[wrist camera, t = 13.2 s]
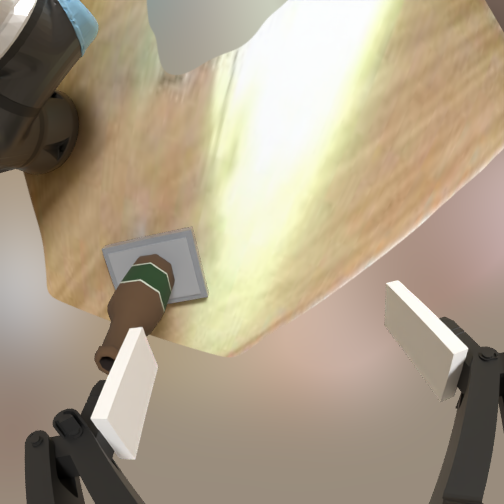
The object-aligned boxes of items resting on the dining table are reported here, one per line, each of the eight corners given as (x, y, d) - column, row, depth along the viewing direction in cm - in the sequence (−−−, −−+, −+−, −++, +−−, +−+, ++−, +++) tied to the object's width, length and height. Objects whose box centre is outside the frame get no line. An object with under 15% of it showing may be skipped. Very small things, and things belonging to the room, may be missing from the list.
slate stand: (105, 245, 52) (101, 249, 49) (192, 226, 52) (190, 230, 49) (126, 305, 56) (122, 311, 53) (208, 291, 56) (207, 297, 54)
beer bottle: (134, 247, 50) (73, 325, 27) (179, 257, 51) (147, 346, 28) (129, 288, 52) (77, 380, 29) (172, 299, 53) (142, 399, 31)
